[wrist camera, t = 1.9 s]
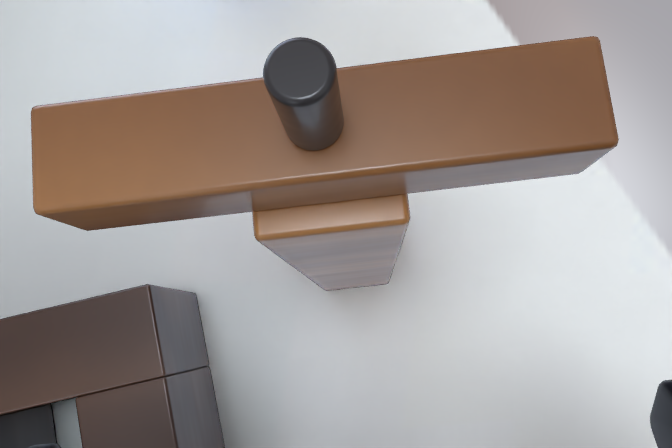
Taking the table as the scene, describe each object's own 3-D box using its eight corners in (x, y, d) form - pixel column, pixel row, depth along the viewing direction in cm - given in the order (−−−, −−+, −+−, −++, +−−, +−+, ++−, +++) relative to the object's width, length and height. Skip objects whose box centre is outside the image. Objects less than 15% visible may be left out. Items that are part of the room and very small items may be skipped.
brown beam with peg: (460, 276, 21) (703, 136, 5) (254, 299, 21) (-63, 226, 6) (452, 211, 21) (655, -87, 6) (248, 235, 21) (-63, 8, 6)
